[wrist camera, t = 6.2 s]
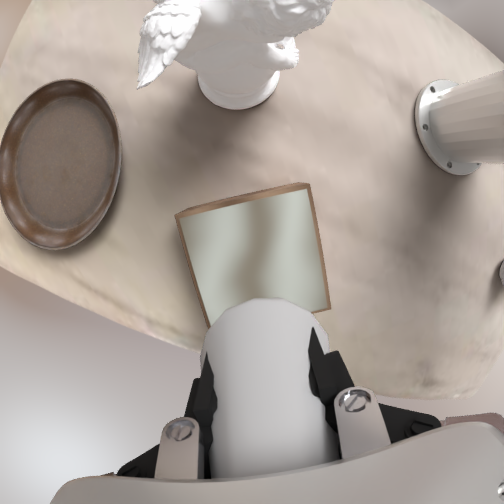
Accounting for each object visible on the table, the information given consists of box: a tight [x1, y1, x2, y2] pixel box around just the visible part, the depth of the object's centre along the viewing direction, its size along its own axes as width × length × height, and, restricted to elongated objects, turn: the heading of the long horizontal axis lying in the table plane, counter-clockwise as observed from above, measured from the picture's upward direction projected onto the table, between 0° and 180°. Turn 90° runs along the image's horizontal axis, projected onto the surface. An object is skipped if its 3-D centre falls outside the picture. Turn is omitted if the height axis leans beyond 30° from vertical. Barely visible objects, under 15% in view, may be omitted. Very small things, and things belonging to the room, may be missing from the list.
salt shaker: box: [200, 297, 339, 479], centre depth 9 cm, size 6×6×13 cm
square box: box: [175, 182, 331, 329], centre depth 29 cm, size 12×12×6 cm
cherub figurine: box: [137, 0, 334, 110], centre depth 17 cm, size 12×12×22 cm
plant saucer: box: [0, 79, 122, 250], centre depth 28 cm, size 21×21×3 cm
